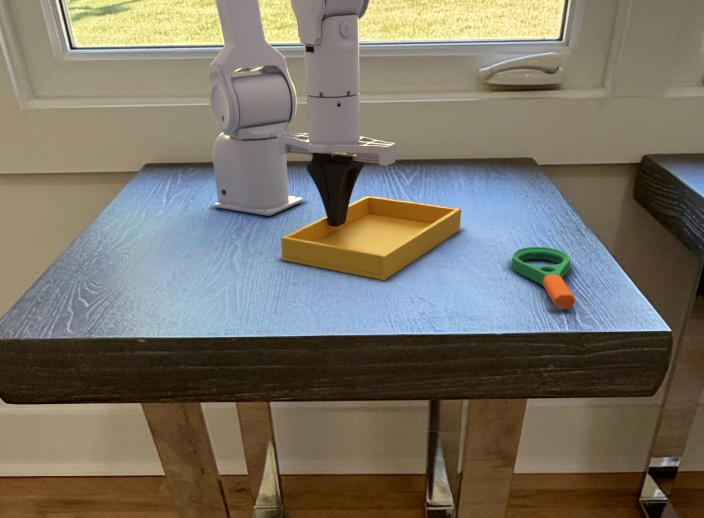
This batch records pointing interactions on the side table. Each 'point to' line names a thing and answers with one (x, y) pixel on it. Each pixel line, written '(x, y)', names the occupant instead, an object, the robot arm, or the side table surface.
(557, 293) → the magnifying glass
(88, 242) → the side table surface
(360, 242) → the tray
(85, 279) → the side table surface
